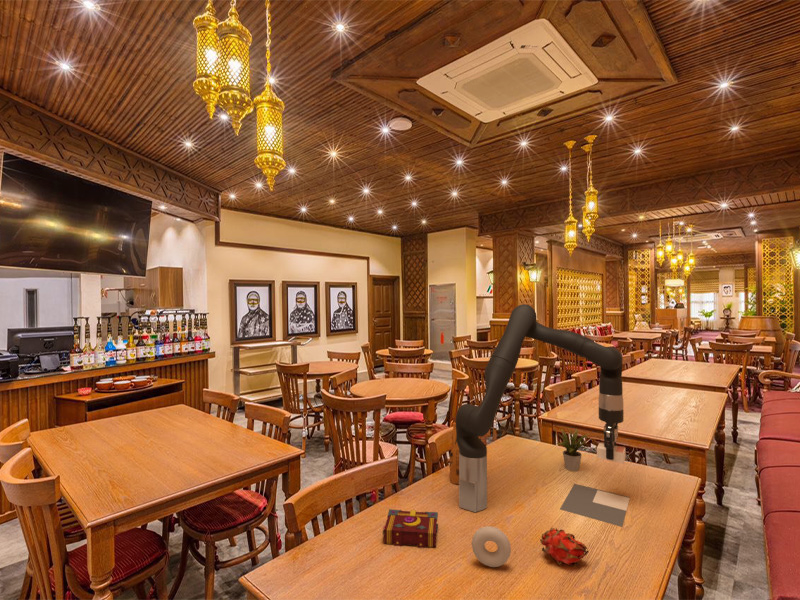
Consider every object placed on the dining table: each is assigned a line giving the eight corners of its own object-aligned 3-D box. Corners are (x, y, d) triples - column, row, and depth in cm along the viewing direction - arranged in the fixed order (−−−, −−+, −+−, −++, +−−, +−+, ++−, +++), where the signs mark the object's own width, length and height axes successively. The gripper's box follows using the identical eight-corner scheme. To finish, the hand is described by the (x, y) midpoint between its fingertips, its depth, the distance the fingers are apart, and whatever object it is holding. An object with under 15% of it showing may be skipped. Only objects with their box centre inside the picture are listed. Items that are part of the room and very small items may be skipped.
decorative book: (436, 549, 112) (436, 531, 112) (379, 545, 114) (379, 527, 114) (437, 526, 123) (437, 510, 123) (385, 523, 125) (385, 507, 125)
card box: (596, 458, 137) (596, 447, 137) (599, 452, 141) (599, 442, 141) (623, 463, 132) (623, 452, 132) (625, 457, 137) (625, 447, 137)
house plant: (595, 479, 153) (595, 437, 153) (556, 474, 158) (556, 433, 158) (590, 465, 167) (590, 425, 167) (554, 461, 171) (554, 422, 171)
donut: (511, 564, 105) (510, 526, 105) (511, 573, 102) (511, 533, 102) (472, 558, 108) (472, 521, 107) (471, 566, 104) (470, 528, 104)
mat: (622, 528, 121) (622, 526, 121) (559, 511, 131) (559, 508, 131) (630, 498, 139) (630, 496, 139) (574, 485, 149) (574, 483, 149)
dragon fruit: (536, 558, 110) (584, 575, 105) (538, 556, 103) (589, 574, 99) (541, 524, 114) (587, 539, 110) (543, 520, 107) (592, 536, 103)
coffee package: (450, 473, 160) (449, 418, 160) (482, 475, 157) (481, 419, 157) (448, 485, 150) (448, 426, 150) (482, 487, 148) (482, 427, 148)
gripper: (602, 400, 145) (602, 447, 145) (595, 409, 133) (595, 460, 133) (625, 403, 140) (626, 451, 140) (620, 413, 129) (621, 466, 129)
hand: (611, 455), depth 137 cm, fingers closed on card box, 5 cm apart
